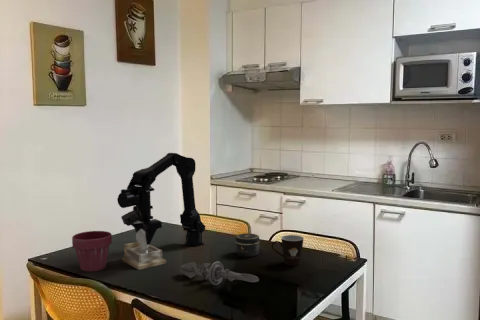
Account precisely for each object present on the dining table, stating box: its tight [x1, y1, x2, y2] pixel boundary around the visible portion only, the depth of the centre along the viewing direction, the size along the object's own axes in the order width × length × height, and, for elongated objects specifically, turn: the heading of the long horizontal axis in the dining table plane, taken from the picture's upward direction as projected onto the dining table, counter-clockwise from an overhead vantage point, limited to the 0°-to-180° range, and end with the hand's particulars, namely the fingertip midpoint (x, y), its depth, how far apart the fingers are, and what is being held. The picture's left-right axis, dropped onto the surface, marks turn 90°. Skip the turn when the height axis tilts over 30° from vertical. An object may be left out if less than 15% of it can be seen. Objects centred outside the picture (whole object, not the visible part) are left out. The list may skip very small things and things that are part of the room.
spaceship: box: [180, 261, 260, 286], centre depth 156 cm, size 8×35×8 cm
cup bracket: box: [121, 241, 167, 271], centre depth 181 cm, size 12×14×6 cm
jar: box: [234, 232, 260, 258], centre depth 191 cm, size 10×10×8 cm
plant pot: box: [71, 230, 113, 272], centre depth 174 cm, size 14×14×13 cm
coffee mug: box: [271, 234, 304, 267], centre depth 179 cm, size 12×9×10 cm
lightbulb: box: [135, 229, 150, 254], centre depth 180 cm, size 6×6×11 cm
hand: (144, 242), depth 180 cm, fingers open, 6 cm apart
